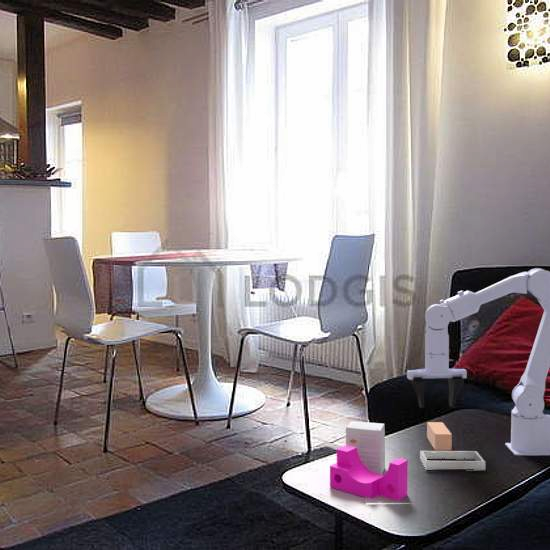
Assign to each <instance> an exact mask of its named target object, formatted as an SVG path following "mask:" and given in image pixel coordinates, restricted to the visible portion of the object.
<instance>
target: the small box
mask: <svg viewBox="0 0 550 550" xmlns="http://www.w3.org/2000/svg"><path fill="white" fill-rule="evenodd" d="M385 435H386V431H385V423H380V422H379V423H378V422H368V421H354V420H351V421H350V422H349V424H348V425H347V426H346V427H345V445H349V446H353V447H357V451H358V455H359V457H360V459H361V461H362V463H363V464H364V465H365V466H366V467H367V468H368V469H369V470H370V471H372V472H374V473H376V474H381V475H383V472H384V471H385V469H386V445H385V443H386V440H385V439H386V437H385Z"/></svg>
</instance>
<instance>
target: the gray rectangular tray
mask: <svg viewBox="0 0 550 550" xmlns="http://www.w3.org/2000/svg"><path fill="white" fill-rule="evenodd" d="M438 458H439V459H442V458H443V459H444V458H445V459H456V460H427V459H438ZM464 458H465V459H464ZM420 459H421V460H420ZM419 460H420V462H421V461H422V462H421V464H422V463H423V464H422V466H423V465H424V466H423V468H424V467H425V468H424V470H425V469H426V470H433V469H434V470H435V469H474V470H473V471H486V461H485V459H483V457H482V456H481V454H479V452H478V451H475V450H473V451H472V450H420V451H419ZM426 470H425V471H426Z"/></svg>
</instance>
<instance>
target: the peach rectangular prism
mask: <svg viewBox="0 0 550 550" xmlns="http://www.w3.org/2000/svg"><path fill="white" fill-rule="evenodd" d="M426 438H427V440H428V441H429V443H430V444H431V446H432V447H433V449H435V450H434V451H453V449H452V443H453V441H452V440H453V439H452V438H453V434H452V432H451V431H450V429H448V428H447V426H446V425H445V423H444V422H441V421H430V422H429V421H427V422H426Z"/></svg>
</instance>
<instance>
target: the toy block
mask: <svg viewBox="0 0 550 550" xmlns="http://www.w3.org/2000/svg"><path fill="white" fill-rule="evenodd" d="M408 462H409V461H408V459H404V458H400V457H398V458H396V459H394V460H392V461H390V462H389V463H388V464H389V465H388V468H387V471H386V472H385V474H382V475H381V474H376V473H374V472H372V471H370V470H369V469H368V468H367V467H366V466H365V465H364V464H363V463H362V461H361V459H360V457H359V455H358V451H357V447H353V446H349V445H346V444H345V445H343V446H341V447H339V448H337V449H336V462H335V463H333V464H331V465H329V487H330V488H333V489H337V490H339V491H342V492H345V493H350V494H352V495H356V496H357V497H358V496H359V497H362V498H368V499H370V500H371V499H373V498H376V496H380V497H384V498H387V499H391V500H393V501H397V502H398V501H400V500H402V499H404V498H405V497H406V495H407V496H408V474H409V473H408V466H409V463H408Z"/></svg>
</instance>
